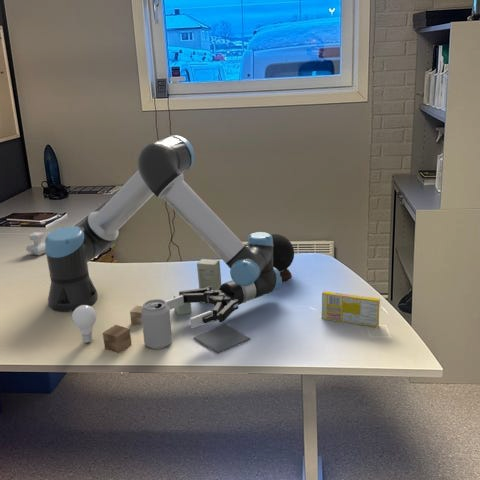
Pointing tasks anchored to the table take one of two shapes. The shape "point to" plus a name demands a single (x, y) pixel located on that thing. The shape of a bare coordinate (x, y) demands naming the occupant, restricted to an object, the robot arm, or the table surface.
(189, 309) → the sage block
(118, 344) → the walnut block
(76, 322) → the lightbulb
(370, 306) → the candy box
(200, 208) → the robot arm
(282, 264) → the black ball on stand
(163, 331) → the can
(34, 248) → the stamp
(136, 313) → the oak block
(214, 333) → the coaster
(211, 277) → the skincare box
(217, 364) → the table surface
